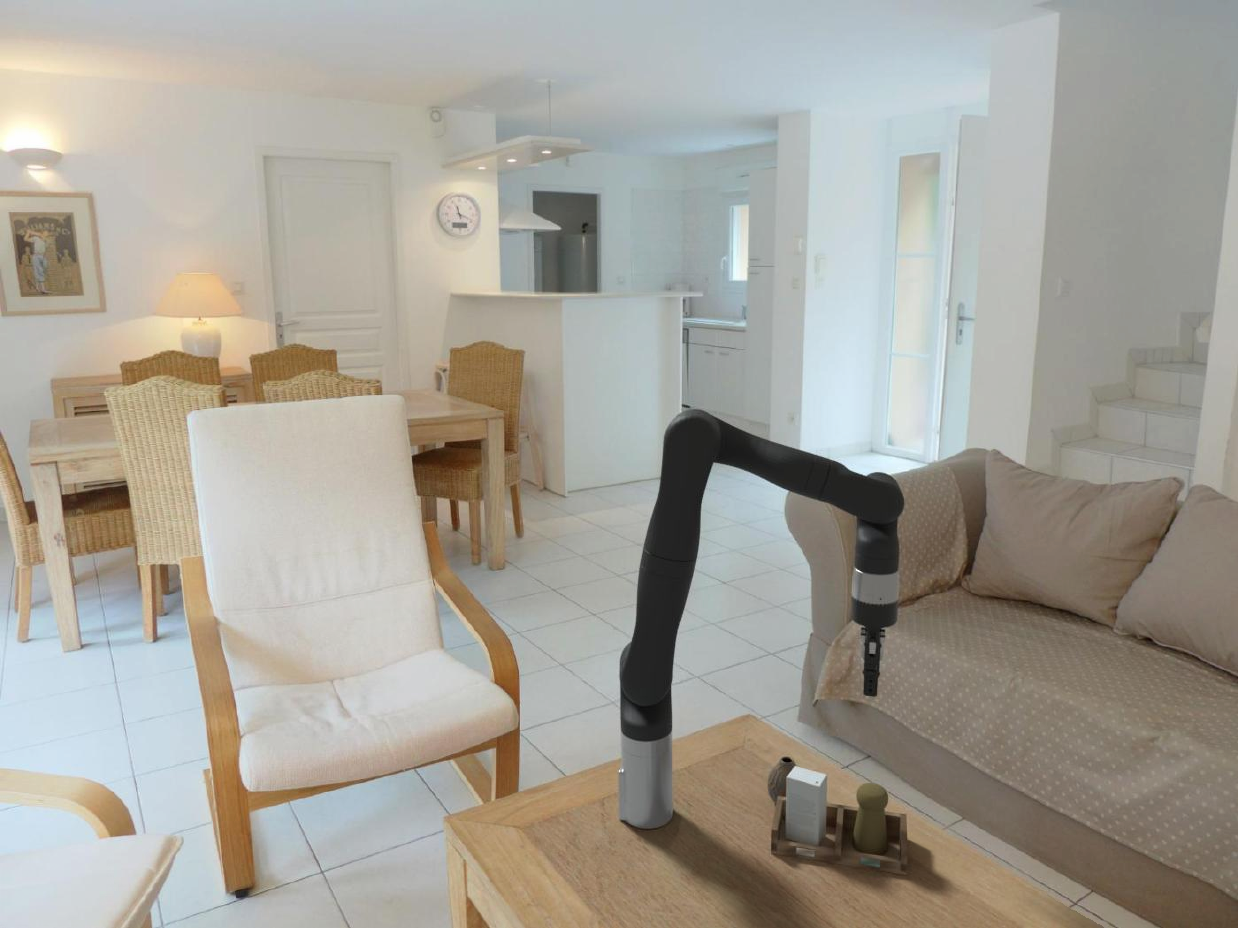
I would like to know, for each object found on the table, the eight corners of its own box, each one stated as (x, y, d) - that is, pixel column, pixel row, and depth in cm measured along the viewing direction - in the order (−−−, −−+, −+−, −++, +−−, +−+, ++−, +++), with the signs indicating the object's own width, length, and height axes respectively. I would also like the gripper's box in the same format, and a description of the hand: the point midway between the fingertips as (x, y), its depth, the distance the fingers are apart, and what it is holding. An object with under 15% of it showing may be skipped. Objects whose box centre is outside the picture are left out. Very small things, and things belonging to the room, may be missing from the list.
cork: (869, 860, 150) (872, 802, 148) (844, 841, 155) (846, 783, 153) (895, 849, 153) (899, 791, 151) (870, 829, 158) (872, 773, 156)
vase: (804, 814, 164) (806, 771, 162) (766, 811, 165) (767, 768, 163) (804, 793, 170) (806, 751, 168) (767, 789, 172) (768, 748, 170)
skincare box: (826, 836, 157) (828, 774, 154) (818, 849, 153) (820, 786, 151) (793, 825, 160) (794, 764, 157) (784, 838, 156) (785, 776, 154)
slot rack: (770, 853, 153) (771, 829, 152) (777, 818, 163) (777, 795, 162) (906, 875, 147) (907, 850, 146) (904, 837, 157) (906, 814, 156)
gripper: (899, 611, 142) (894, 706, 145) (897, 580, 155) (893, 667, 159) (850, 607, 144) (846, 700, 147) (852, 577, 157) (849, 663, 161)
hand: (870, 683), depth 153 cm, fingers open, 8 cm apart
